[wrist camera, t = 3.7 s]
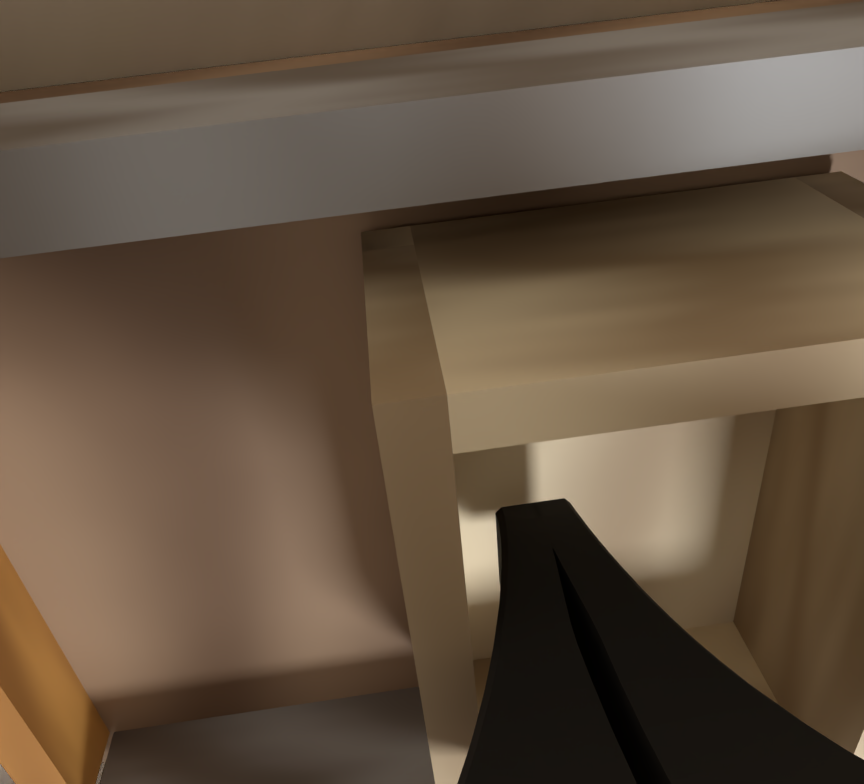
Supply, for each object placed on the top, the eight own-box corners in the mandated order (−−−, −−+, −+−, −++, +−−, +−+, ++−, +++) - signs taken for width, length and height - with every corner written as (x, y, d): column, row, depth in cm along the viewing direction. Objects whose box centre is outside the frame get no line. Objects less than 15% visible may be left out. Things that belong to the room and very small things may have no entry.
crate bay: (93, 729, 20) (11, 1002, 15) (-271, 124, 11) (-762, 295, 6) (877, 612, 21) (1046, 835, 16) (1115, -40, 12) (1669, -4, 7)
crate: (426, 659, 18) (451, 884, 14) (360, 232, 12) (372, 404, 8) (746, 612, 18) (865, 819, 14) (841, 170, 12) (1100, 306, 8)
